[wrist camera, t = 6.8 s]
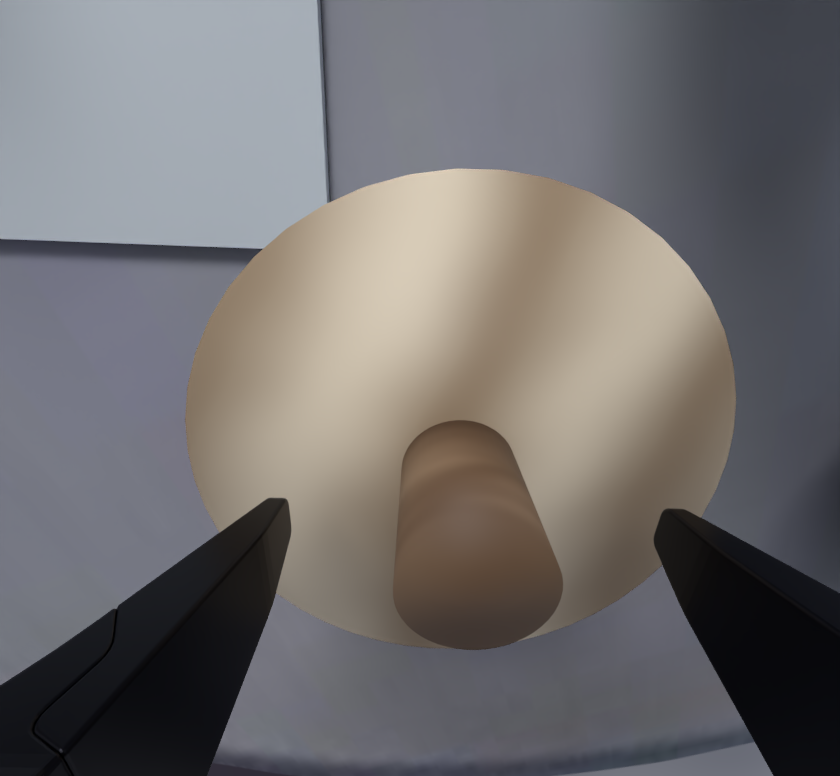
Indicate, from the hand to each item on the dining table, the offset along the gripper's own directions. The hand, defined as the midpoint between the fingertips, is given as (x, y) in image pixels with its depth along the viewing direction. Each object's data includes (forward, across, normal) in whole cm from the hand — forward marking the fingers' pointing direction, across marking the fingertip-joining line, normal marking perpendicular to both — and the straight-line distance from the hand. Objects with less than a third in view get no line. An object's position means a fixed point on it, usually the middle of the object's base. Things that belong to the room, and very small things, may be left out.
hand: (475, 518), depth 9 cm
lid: (+3, 0, 0) cm, 3 cm away
